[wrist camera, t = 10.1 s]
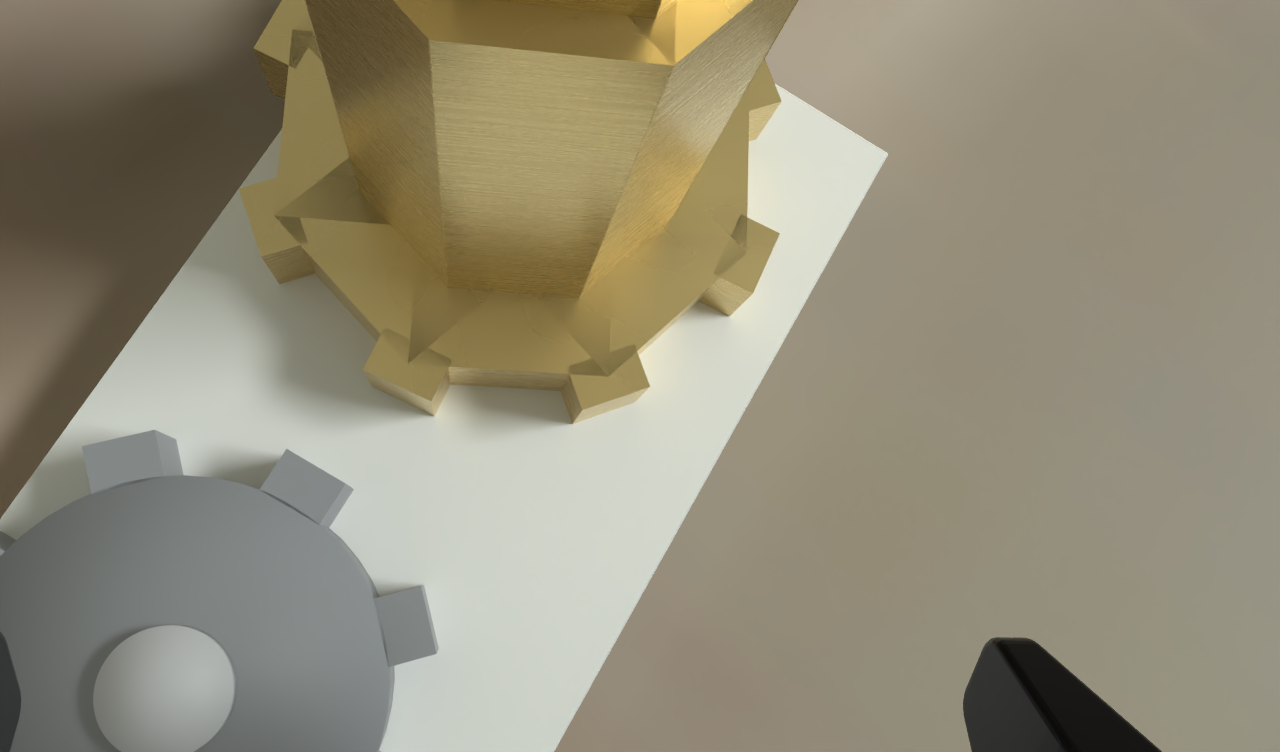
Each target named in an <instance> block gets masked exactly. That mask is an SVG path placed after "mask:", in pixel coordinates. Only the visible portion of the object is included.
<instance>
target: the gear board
mask: <svg viewBox="0 0 1280 752" xmlns="http://www.w3.org/2000/svg"><path fill="white" fill-rule="evenodd" d="M775 86H776V88H777V91H778V93H779V96H780V98H781V101H782V102H781V103H780V105H779V106H778V108H777V109H776V111H775V112H774V114H773V115H772V117H771V118H770V120H769V121H768V123H767V124H766V126H765V127H764V129H763V130H762V132H761V133H760V135H759V136H758V138H757V139H755V140H752V141H749V154H748V208H747V217H748V218H750V219H752V220H754V221H756V222H758V223H760V224H762V225H764V226H766V227H768V228H770V229H772V230H774V231H776V232H778V233H780V234H779V237H778V239H777V241H776V243H775V246H774V248H773V250H772V252H771V255H770V257H769V259H768V261H767V264H766V266H765V268H764V270H763V273H762V275H761V277H760V279H759V281H758V284H757V286H756V288H755V290H754V293H753V294H752V295H751V296H750V297H749V298H748V299H747V300H746V301H745V302H744V303H743V304H742V305H741V306H740V307H739V308H738V309H737V310H736V311H735V312H734V313H733V314H732V315H731V316H727V315H725V314H723V313H721V312H719V311H717V310H715V309H713V308H711V307H709V306H707V305H705V304H703V303H701V302H698V303H697V304H696V305H695V306H693V307H692V308H691V309H690V310H689V311H688V312H687V313H686V314H685V315H683V316H682V317H681V318H680V319H679V320H678V321H677V322H676V323H674V324H673V325H672V326H671V327H670V328H669V329H668V330H667V331H666V332H664V333H663V334H662V335H661V336H660V337H659V338H658V339H657V340H655V341H654V342H653V343H652V344H651V345H650V346H649V347H648V348H647V349H645V350H644V351H643V352H642V353H641V354H640V355H639V358H640V361H641V363H642V366H643V369H644V371H645V374H646V377H647V379H648V382H649V385H650V387H649V388H648V390H647V391H646V392H645V393H644V394H643V395H642V396H641V397H640V398H639V399H638V400H637V401H636V402H635V403H632V404H629V405H626V406H623V407H620V408H617V409H614V410H612V411H609V412H606V413H603V414H600V415H597V416H594V417H592V418H589V419H586V420H583V421H580V422H577V423H574V424H572V421H571V418H570V416H569V413H568V410H567V407H566V404H565V402H564V399H563V396H562V393H561V391H551V390H534V389H517V388H501V387H484V386H467V385H450V387H449V389H448V391H447V393H446V394H445V396H444V398H443V400H442V402H441V404H440V406H439V408H438V410H437V412H436V414H435V416H432V415H430V414H428V413H426V412H424V411H422V410H420V409H418V408H416V407H413V406H411V405H409V404H407V403H405V402H403V401H401V400H399V399H397V398H394V397H392V396H390V395H388V394H386V393H384V392H382V391H380V390H378V389H375V388H373V387H372V386H371V384H370V382H369V380H368V378H367V376H366V374H365V373H364V371H363V368H364V366H365V364H366V362H367V360H368V358H369V356H370V354H371V352H372V351H373V349H374V347H375V345H376V343H377V341H376V340H375V339H374V338H373V337H372V336H371V335H370V334H369V333H368V331H367V330H366V329H365V328H364V327H363V326H362V325H361V324H360V323H359V322H358V320H357V319H356V318H355V317H354V316H353V315H352V314H351V313H350V312H349V310H348V309H347V308H346V307H345V306H344V305H343V304H342V303H341V302H340V301H339V299H338V298H337V297H336V296H335V295H334V294H333V293H332V292H331V291H330V289H329V288H328V287H327V286H326V285H325V284H324V283H323V282H322V281H321V279H320V278H319V277H318V276H317V275H316V274H312V275H309V276H305V277H302V278H299V279H296V280H292V281H289V282H286V283H282V284H279V283H278V281H277V280H276V278H275V277H274V275H273V274H272V272H271V271H270V269H269V268H268V266H267V265H266V263H265V262H264V260H263V259H262V257H261V254H260V251H259V249H258V246H257V243H256V240H255V237H254V234H253V231H252V228H251V225H250V222H249V219H248V216H247V213H246V210H245V207H244V204H243V201H242V198H241V195H240V192H239V189H238V190H237V192H236V193H235V194H234V196H233V197H232V198H231V200H230V201H229V203H228V204H227V205H226V207H225V208H224V210H223V211H222V212H221V214H220V215H219V217H218V218H217V219H216V221H215V222H214V223H213V225H212V226H211V228H210V229H209V230H208V232H207V233H206V235H205V236H204V237H203V239H202V240H201V241H200V243H199V244H198V246H197V247H196V248H195V250H194V251H193V253H192V254H191V255H190V257H189V258H188V259H187V261H186V262H185V264H184V265H183V266H182V268H181V269H180V271H179V272H178V273H177V275H176V276H175V277H174V279H173V280H172V282H171V283H170V284H169V286H168V287H167V289H166V290H165V291H164V293H163V294H162V295H161V297H160V298H159V300H158V301H157V302H156V304H155V305H154V307H153V308H152V309H151V311H150V312H149V314H148V315H147V316H146V318H145V319H144V320H143V322H142V323H141V325H140V326H139V327H138V329H137V330H136V332H135V333H134V334H133V336H132V337H131V338H130V340H129V341H128V343H127V344H126V345H125V347H124V348H123V350H122V351H121V352H120V354H119V355H118V356H117V358H116V359H115V361H114V362H113V363H112V365H111V366H110V368H109V369H108V370H107V372H106V373H105V374H104V376H103V377H102V379H101V380H100V381H99V383H98V384H97V386H96V387H95V388H94V390H93V391H92V392H91V394H90V395H89V397H88V398H87V399H86V401H85V402H84V404H83V405H82V406H81V408H80V409H79V411H78V412H77V413H76V415H75V416H74V417H73V419H72V420H71V422H70V423H69V424H68V426H67V427H66V429H65V430H64V431H63V433H62V434H61V435H60V437H59V438H58V440H57V441H56V442H55V444H54V445H53V447H52V448H51V449H50V451H49V452H48V453H47V455H46V456H45V458H44V459H43V460H42V462H41V463H40V465H39V466H38V467H37V469H36V470H35V471H34V473H33V474H32V476H31V477H30V478H29V480H28V481H27V483H26V484H25V485H24V487H23V488H22V490H21V491H20V492H19V494H18V495H17V496H16V498H15V499H14V501H13V502H12V503H11V505H10V506H9V508H8V509H7V510H6V512H5V513H4V514H3V516H2V517H1V519H0V632H1V633H2V634H3V635H4V636H5V639H6V641H7V644H8V648H9V651H10V655H11V658H12V661H13V665H14V668H15V672H16V675H17V679H18V682H19V686H20V690H21V699H22V701H21V712H20V717H19V722H18V725H17V729H16V732H15V736H14V739H13V743H12V746H11V750H10V752H554V751H555V749H556V747H557V745H558V743H559V742H560V740H561V738H562V736H563V735H564V733H565V731H566V729H567V727H568V726H569V724H570V722H571V720H572V718H573V717H574V715H575V713H576V711H577V709H578V708H579V706H580V704H581V702H582V701H583V699H584V697H585V695H586V693H587V692H588V690H589V688H590V686H591V684H592V683H593V681H594V679H595V677H596V676H597V674H598V672H599V670H600V668H601V667H602V665H603V663H604V661H605V659H606V658H607V656H608V654H609V652H610V650H611V649H612V647H613V645H614V643H615V642H616V640H617V638H618V636H619V634H620V633H621V631H622V629H623V627H624V625H625V624H626V622H627V620H628V618H629V616H630V615H631V613H632V611H633V609H634V608H635V606H636V604H637V602H638V600H639V599H640V597H641V595H642V593H643V591H644V590H645V588H646V586H647V584H648V583H649V581H650V579H651V577H652V575H653V574H654V572H655V570H656V568H657V566H658V565H659V563H660V561H661V559H662V557H663V556H664V554H665V552H666V550H667V549H668V547H669V545H670V543H671V541H672V540H673V538H674V536H675V534H676V532H677V531H678V529H679V527H680V525H681V523H682V522H683V520H684V518H685V516H686V515H687V513H688V511H689V509H690V507H691V506H692V504H693V502H694V500H695V498H696V497H697V495H698V493H699V491H700V490H701V488H702V486H703V484H704V482H705V481H706V479H707V477H708V475H709V473H710V472H711V470H712V468H713V466H714V464H715V463H716V461H717V459H718V457H719V456H720V454H721V452H722V450H723V448H724V447H725V445H726V443H727V441H728V439H729V438H730V436H731V434H732V432H733V430H734V429H735V427H736V425H737V423H738V422H739V420H740V418H741V416H742V414H743V413H744V411H745V409H746V407H747V405H748V404H749V402H750V400H751V398H752V397H753V395H754V393H755V391H756V389H757V388H758V386H759V384H760V382H761V380H762V379H763V377H764V375H765V373H766V371H767V370H768V368H769V366H770V364H771V363H772V361H773V359H774V357H775V355H776V354H777V352H778V350H779V348H780V346H781V345H782V343H783V341H784V339H785V338H786V336H787V334H788V332H789V330H790V329H791V327H792V325H793V323H794V321H795V320H796V318H797V316H798V314H799V312H800V311H801V309H802V307H803V305H804V304H805V302H806V300H807V298H808V296H809V295H810V293H811V291H812V289H813V287H814V286H815V284H816V282H817V280H818V278H819V277H820V275H821V273H822V271H823V270H824V268H825V266H826V264H827V262H828V261H829V259H830V257H831V255H832V253H833V252H834V250H835V248H836V246H837V245H838V243H839V241H840V239H841V237H842V236H843V234H844V232H845V230H846V228H847V227H848V225H849V223H850V221H851V219H852V218H853V216H854V214H855V212H856V211H857V209H858V207H859V205H860V203H861V202H862V200H863V198H864V196H865V194H866V193H867V191H868V189H869V187H870V185H871V184H872V182H873V180H874V178H875V177H876V175H877V173H878V171H879V169H880V168H881V166H882V164H883V162H884V160H885V159H886V157H887V155H888V153H886V152H885V151H883V150H881V149H880V148H878V147H877V146H875V145H873V144H872V143H870V142H868V141H867V140H865V139H864V138H862V137H860V136H859V135H857V134H856V133H854V132H852V131H851V130H849V129H847V128H846V127H844V126H843V125H841V124H839V123H838V122H836V121H835V120H833V119H831V118H830V117H828V116H827V115H825V114H823V113H822V112H820V111H818V110H817V109H815V108H814V107H812V106H810V105H809V104H807V103H806V102H804V101H802V100H801V99H799V98H797V97H796V96H794V95H793V94H791V93H789V92H788V91H786V90H785V89H783V88H781V87H780V86H778V85H777V84H775ZM281 137H282V129H281V131H280V132H279V133H278V135H277V136H276V138H275V139H274V140H273V142H272V143H271V144H270V146H269V147H268V149H267V150H266V151H265V153H264V154H263V156H262V157H261V158H260V160H259V161H258V162H257V164H256V165H255V167H254V168H253V169H252V171H251V172H250V174H249V175H248V176H247V178H246V179H245V180H244V182H243V183H242V185H241V186H240V187H239V188H242V187H245V186H249V185H252V184H256V183H259V182H263V181H266V180H270V179H273V178H277V177H278V167H279V157H280V147H281Z"/></svg>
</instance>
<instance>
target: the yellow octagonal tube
mask: <svg viewBox="0 0 1280 752" xmlns="http://www.w3.org/2000/svg"><path fill="white" fill-rule="evenodd" d="M797 2H798V0H282V1H281V3H280V4H279V6H278V8H277V9H276V11H275V13H274V14H273V16H272V18H271V19H270V21H269V23H268V24H267V26H266V28H265V30H264V31H263V33H262V35H261V36H260V38H259V40H258V41H257V43H256V45H255V46H254V51H255V53H256V56H257V58H258V60H259V63H260V65H261V68H262V70H263V73H264V75H265V77H266V80H267V82H268V85H269V87H270V90H271V92H272V93H273V94H275V95H277V96H279V97H282V98H284V99H285V107H284V117H283V127H282V137H281V147H280V157H279V167H278V177H277V178H273V179H270V180H266V181H263V182H259V183H256V184H252V185H249V186H245V187H242V188H238V189H239V192H240V195H241V198H242V201H243V204H244V207H245V210H246V213H247V216H248V219H249V222H250V225H251V228H252V231H253V234H254V237H255V240H256V243H257V246H258V249H259V251H260V254H261V257H262V259H263V260H264V262H265V263H266V265H267V266H268V268H269V269H270V271H271V272H272V274H273V275H274V277H275V278H276V280H277V281H278V283H279V284H282V283H286V282H289V281H292V280H296V279H299V278H302V277H305V276H309V275H312V274H316V275H317V276H318V277H319V278H320V279H321V281H322V282H323V283H324V284H325V285H326V286H327V287H328V288H329V289H330V291H331V292H332V293H333V294H334V295H335V296H336V297H337V298H338V299H339V301H340V302H341V303H342V304H343V305H344V306H345V307H346V308H347V309H348V310H349V312H350V313H351V314H352V315H353V316H354V317H355V318H356V319H357V320H358V322H359V323H360V324H361V325H362V326H363V327H364V328H365V329H366V330H367V331H368V333H369V334H370V335H371V336H372V337H373V338H374V339H375V340H376V341H377V343H376V345H375V347H374V349H373V351H372V352H371V354H370V356H369V358H368V360H367V362H366V364H365V366H364V368H363V371H364V373H365V374H366V376H367V378H368V380H369V382H370V384H371V386H372V387H373V388H375V389H378V390H380V391H382V392H384V393H386V394H388V395H390V396H392V397H394V398H397V399H399V400H401V401H403V402H405V403H407V404H409V405H411V406H413V407H416V408H418V409H420V410H422V411H424V412H426V413H428V414H430V415H432V416H435V414H436V412H437V410H438V408H439V406H440V404H441V402H442V400H443V398H444V396H445V394H446V393H447V391H448V389H449V387H450V385H467V386H484V387H501V388H517V389H534V390H551V391H561V393H562V396H563V399H564V402H565V404H566V407H567V410H568V413H569V416H570V418H571V421H572V424H574V423H577V422H580V421H583V420H586V419H589V418H592V417H594V416H597V415H600V414H603V413H606V412H609V411H612V410H614V409H617V408H620V407H623V406H626V405H629V404H632V403H635V402H636V401H637V400H638V399H639V398H640V397H641V396H642V395H643V394H644V393H645V392H646V391H647V390H648V388H649V387H650V385H649V382H648V379H647V377H646V374H645V371H644V369H643V366H642V363H641V361H640V358H639V355H640V354H641V353H642V352H643V351H644V350H645V349H647V348H648V347H649V346H650V345H651V344H652V343H653V342H654V341H655V340H657V339H658V338H659V337H660V336H661V335H662V334H663V333H664V332H666V331H667V330H668V329H669V328H670V327H671V326H672V325H673V324H674V323H676V322H677V321H678V320H679V319H680V318H681V317H682V316H683V315H685V314H686V313H687V312H688V311H689V310H690V309H691V308H692V307H693V306H695V305H696V304H697V303H698V302H701V303H703V304H705V305H707V306H709V307H711V308H713V309H715V310H717V311H719V312H721V313H723V314H725V315H727V316H731V315H732V314H733V313H734V312H735V311H736V310H737V309H738V308H739V307H740V306H741V305H742V304H743V303H744V302H745V301H746V300H747V299H748V298H749V297H750V296H751V295H752V294H753V293H754V290H755V288H756V286H757V284H758V281H759V279H760V277H761V275H762V273H763V270H764V268H765V266H766V264H767V261H768V259H769V257H770V255H771V252H772V250H773V248H774V246H775V243H776V241H777V239H778V237H779V234H780V233H778V232H776V231H774V230H772V229H770V228H768V227H766V226H764V225H762V224H760V223H758V222H756V221H754V220H752V219H750V218H748V217H747V208H748V154H749V141H752V140H755V139H757V138H758V136H759V135H760V133H761V132H762V130H763V129H764V127H765V126H766V124H767V123H768V121H769V120H770V118H771V117H772V115H773V114H774V112H775V111H776V109H777V108H778V106H779V105H780V103H781V102H782V101H781V98H780V96H779V93H778V91H777V88H776V86H775V83H774V81H773V78H772V76H771V73H770V71H769V68H768V66H767V63H766V61H765V57H766V55H767V54H768V52H769V50H770V48H771V47H772V45H773V43H774V41H775V40H776V38H777V36H778V35H779V33H780V31H781V29H782V28H783V26H784V24H785V22H786V21H787V19H788V17H789V15H790V14H791V12H792V10H793V9H794V7H795V5H796V3H797Z"/></svg>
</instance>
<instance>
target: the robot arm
mask: <svg viewBox="0 0 1280 752" xmlns="http://www.w3.org/2000/svg"><path fill="white" fill-rule="evenodd" d="M21 701H22V699H21V690H20V686H19V682H18V679H17V675H16V672H15V668H14V665H13V661H12V658H11V655H10V651H9V648H8V644H7V641H6V639H5V636H4V635H3V634H2V633H1V632H0V752H10V750H11V746H12V743H13V739H14V736H15V732H16V729H17V725H18V722H19V717H20V712H21ZM963 711H964V718H965V723H966V727H967V732H968V736H969V741H970V745H971V750H972V752H1162V751H1161V750H1160V749H1158V748H1157V747H1156V746H1155V745H1154V744H1153V743H1152V742H1150V741H1149V740H1148V739H1147V738H1146V737H1145V736H1144V735H1142V734H1141V733H1140V732H1139V731H1138V730H1137V729H1135V728H1134V727H1133V726H1132V725H1131V724H1130V723H1129V722H1127V721H1126V720H1125V719H1124V718H1123V717H1122V716H1121V715H1119V714H1118V713H1117V712H1116V711H1115V710H1114V709H1113V708H1111V707H1110V706H1109V705H1108V704H1107V703H1106V702H1104V701H1103V700H1102V699H1101V698H1100V697H1099V696H1098V695H1096V694H1095V693H1094V692H1093V691H1092V690H1091V689H1090V688H1088V687H1087V686H1086V685H1085V684H1084V683H1083V682H1082V681H1080V680H1079V679H1078V678H1077V677H1076V676H1075V675H1073V674H1072V673H1071V672H1070V671H1069V670H1068V669H1067V668H1065V667H1064V666H1063V665H1062V664H1061V663H1060V662H1059V661H1057V660H1056V659H1055V658H1054V657H1053V656H1052V655H1051V654H1049V653H1048V652H1047V651H1046V650H1045V649H1044V648H1042V647H1041V646H1040V645H1039V644H1038V643H1036V642H1035V641H1033V640H1031V639H1028V638H992V639H991V640H989V641H988V642H987V643H986V644H985V646H984V648H983V650H982V652H981V655H980V657H979V659H978V662H977V664H976V666H975V669H974V671H973V674H972V676H971V678H970V681H969V683H968V685H967V688H966V690H965V694H964V700H963Z"/></svg>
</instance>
